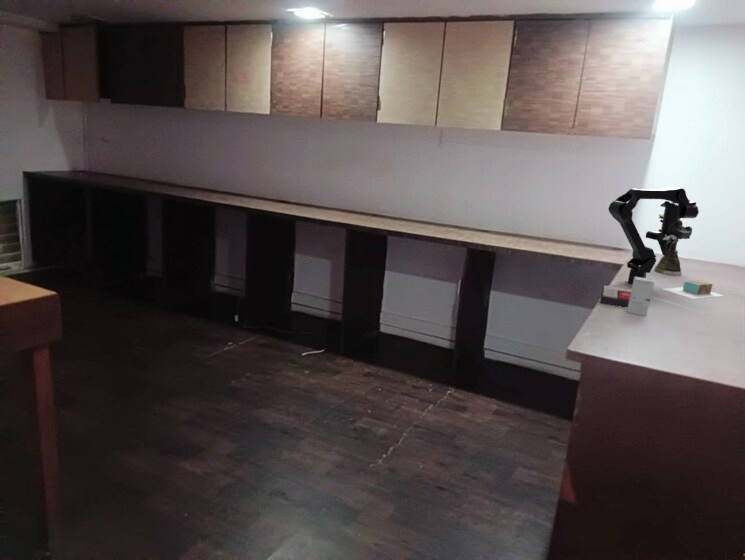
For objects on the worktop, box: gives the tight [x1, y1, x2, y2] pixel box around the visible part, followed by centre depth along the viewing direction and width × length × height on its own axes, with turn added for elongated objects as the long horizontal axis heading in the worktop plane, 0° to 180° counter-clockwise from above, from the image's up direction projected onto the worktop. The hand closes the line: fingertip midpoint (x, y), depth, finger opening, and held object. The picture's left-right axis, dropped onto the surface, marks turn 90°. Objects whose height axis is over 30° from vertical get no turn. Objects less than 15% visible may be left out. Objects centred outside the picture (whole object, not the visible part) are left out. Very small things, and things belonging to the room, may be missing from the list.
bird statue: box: [654, 199, 691, 276], centre depth 265 cm, size 17×13×35 cm
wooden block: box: [682, 279, 713, 295], centre depth 232 cm, size 4×6×9 cm
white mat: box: [662, 286, 724, 300], centre depth 231 cm, size 20×14×1 cm
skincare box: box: [626, 277, 655, 316], centre depth 195 cm, size 6×4×12 cm
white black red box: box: [599, 285, 632, 309], centre depth 209 cm, size 11×4×15 cm
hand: (664, 255), depth 238 cm, fingers closed
